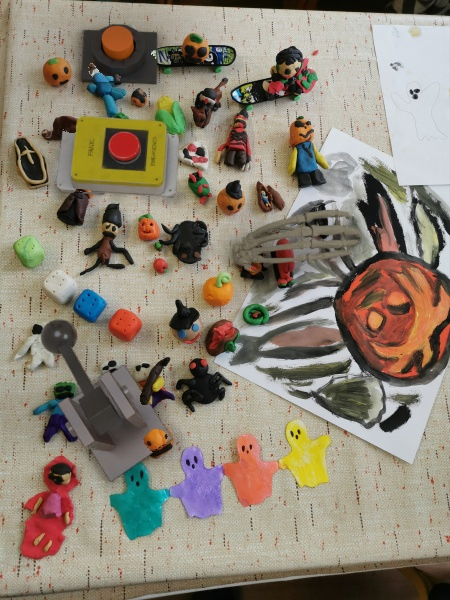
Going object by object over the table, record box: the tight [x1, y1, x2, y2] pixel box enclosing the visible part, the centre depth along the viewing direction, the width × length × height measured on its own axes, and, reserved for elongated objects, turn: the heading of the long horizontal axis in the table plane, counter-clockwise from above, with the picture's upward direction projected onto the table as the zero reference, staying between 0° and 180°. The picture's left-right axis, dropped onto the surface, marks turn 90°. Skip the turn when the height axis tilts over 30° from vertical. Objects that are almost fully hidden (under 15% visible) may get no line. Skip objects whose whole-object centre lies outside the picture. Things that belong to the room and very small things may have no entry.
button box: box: [80, 23, 158, 85], centre depth 75 cm, size 10×8×2 cm
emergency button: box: [55, 115, 180, 199], centre depth 70 cm, size 9×4×15 cm
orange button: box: [102, 26, 134, 60], centre depth 74 cm, size 4×4×2 cm
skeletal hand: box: [232, 208, 362, 273], centre depth 68 cm, size 6×17×6 cm, turn 103°
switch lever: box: [40, 318, 122, 435], centre depth 53 cm, size 15×4×4 cm
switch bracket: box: [57, 364, 173, 483], centre depth 55 cm, size 10×8×17 cm
